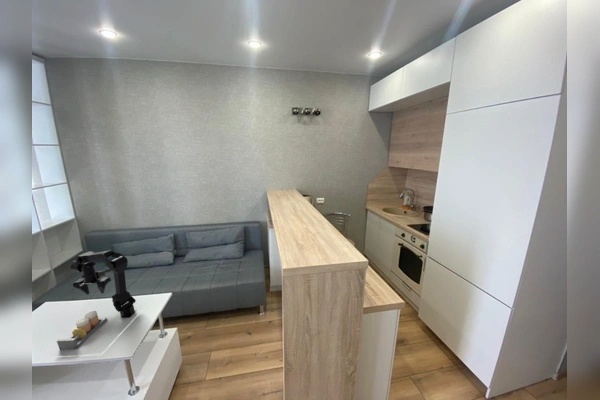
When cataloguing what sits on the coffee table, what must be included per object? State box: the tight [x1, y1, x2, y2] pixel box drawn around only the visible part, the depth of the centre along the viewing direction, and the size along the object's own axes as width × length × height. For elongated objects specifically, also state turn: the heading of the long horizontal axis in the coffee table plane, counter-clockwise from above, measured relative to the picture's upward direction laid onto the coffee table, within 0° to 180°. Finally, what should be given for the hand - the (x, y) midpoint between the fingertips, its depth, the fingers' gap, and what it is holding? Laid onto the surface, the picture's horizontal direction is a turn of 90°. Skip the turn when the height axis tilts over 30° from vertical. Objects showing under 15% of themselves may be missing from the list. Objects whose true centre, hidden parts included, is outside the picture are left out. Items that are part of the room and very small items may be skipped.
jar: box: [84, 310, 100, 329], centre depth 130 cm, size 5×5×8 cm
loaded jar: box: [75, 317, 92, 334], centre depth 125 cm, size 5×5×8 cm
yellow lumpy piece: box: [71, 327, 87, 339], centre depth 121 cm, size 4×6×6 cm, turn 92°
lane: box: [56, 317, 108, 351], centre depth 125 cm, size 20×8×6 cm, turn 2°
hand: (95, 293), depth 142 cm, fingers open, 9 cm apart
